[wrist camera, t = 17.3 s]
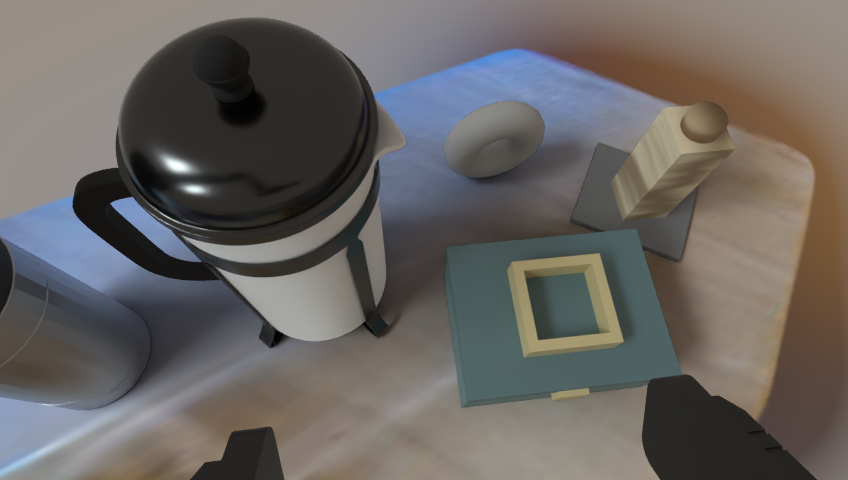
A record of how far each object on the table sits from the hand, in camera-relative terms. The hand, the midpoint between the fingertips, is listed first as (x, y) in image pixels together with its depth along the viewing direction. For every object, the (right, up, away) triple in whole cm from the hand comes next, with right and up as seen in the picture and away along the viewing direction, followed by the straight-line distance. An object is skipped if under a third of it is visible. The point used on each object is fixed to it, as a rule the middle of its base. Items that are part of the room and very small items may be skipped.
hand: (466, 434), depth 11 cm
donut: (+6, +12, +43) cm, 45 cm away
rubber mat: (+21, +8, +42) cm, 47 cm away
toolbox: (+10, -4, +36) cm, 37 cm away
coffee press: (-12, -1, +37) cm, 39 cm away
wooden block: (+21, +8, +41) cm, 47 cm away
